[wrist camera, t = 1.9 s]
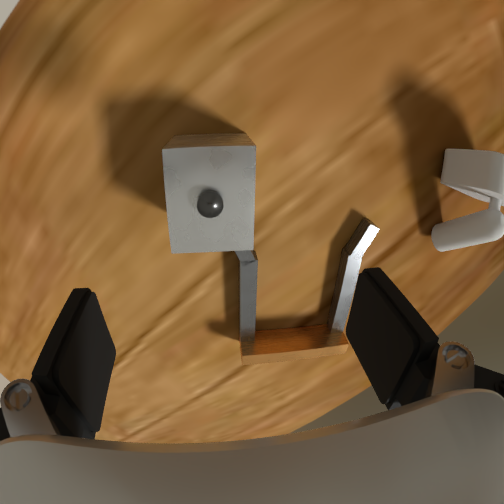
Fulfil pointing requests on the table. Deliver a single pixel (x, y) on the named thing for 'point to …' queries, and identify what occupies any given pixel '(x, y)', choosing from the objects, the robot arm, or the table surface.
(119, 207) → the table surface
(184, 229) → the block
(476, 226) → the white jointed piece
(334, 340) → the receiver
